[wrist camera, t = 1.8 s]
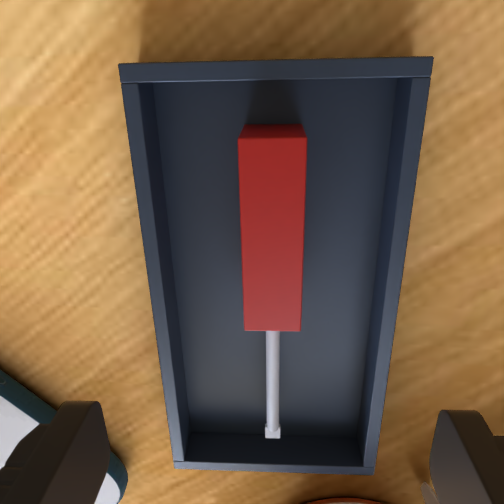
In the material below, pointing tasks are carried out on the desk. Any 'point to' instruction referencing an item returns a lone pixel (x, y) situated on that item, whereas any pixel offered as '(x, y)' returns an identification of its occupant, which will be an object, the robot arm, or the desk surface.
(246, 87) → the tray
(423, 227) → the desk surface
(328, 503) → the planter
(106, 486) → the external hard drive
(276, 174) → the screwdriver
